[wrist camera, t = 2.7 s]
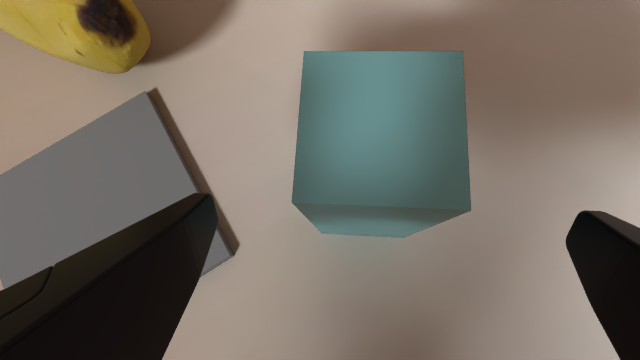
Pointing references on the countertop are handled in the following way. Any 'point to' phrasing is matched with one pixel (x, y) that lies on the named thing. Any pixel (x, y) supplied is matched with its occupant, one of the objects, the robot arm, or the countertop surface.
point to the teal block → (381, 141)
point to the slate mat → (92, 190)
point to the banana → (80, 30)
